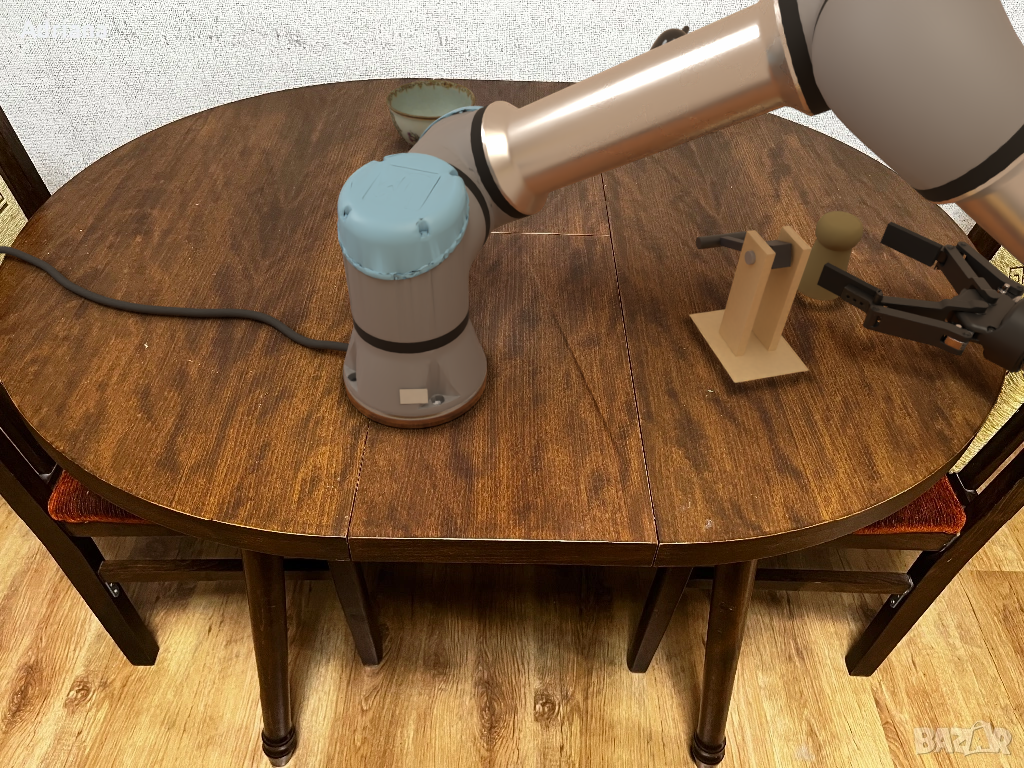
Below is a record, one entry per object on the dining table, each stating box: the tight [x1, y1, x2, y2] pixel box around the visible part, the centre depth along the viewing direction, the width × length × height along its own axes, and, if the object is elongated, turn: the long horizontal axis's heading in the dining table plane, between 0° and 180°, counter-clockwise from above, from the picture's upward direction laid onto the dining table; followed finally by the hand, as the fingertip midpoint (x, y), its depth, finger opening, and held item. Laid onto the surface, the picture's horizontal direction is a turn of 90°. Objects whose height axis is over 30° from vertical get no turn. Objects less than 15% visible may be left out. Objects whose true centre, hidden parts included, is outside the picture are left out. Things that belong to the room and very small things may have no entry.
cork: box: [797, 210, 864, 301], centre depth 92 cm, size 6×6×11 cm
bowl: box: [385, 79, 477, 147], centre depth 119 cm, size 14×13×8 cm
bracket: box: [688, 225, 812, 384], centre depth 83 cm, size 12×9×15 cm
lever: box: [695, 230, 792, 269], centre depth 84 cm, size 13×6×2 cm, turn 15°
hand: (854, 251), depth 89 cm, fingers open, 13 cm apart
